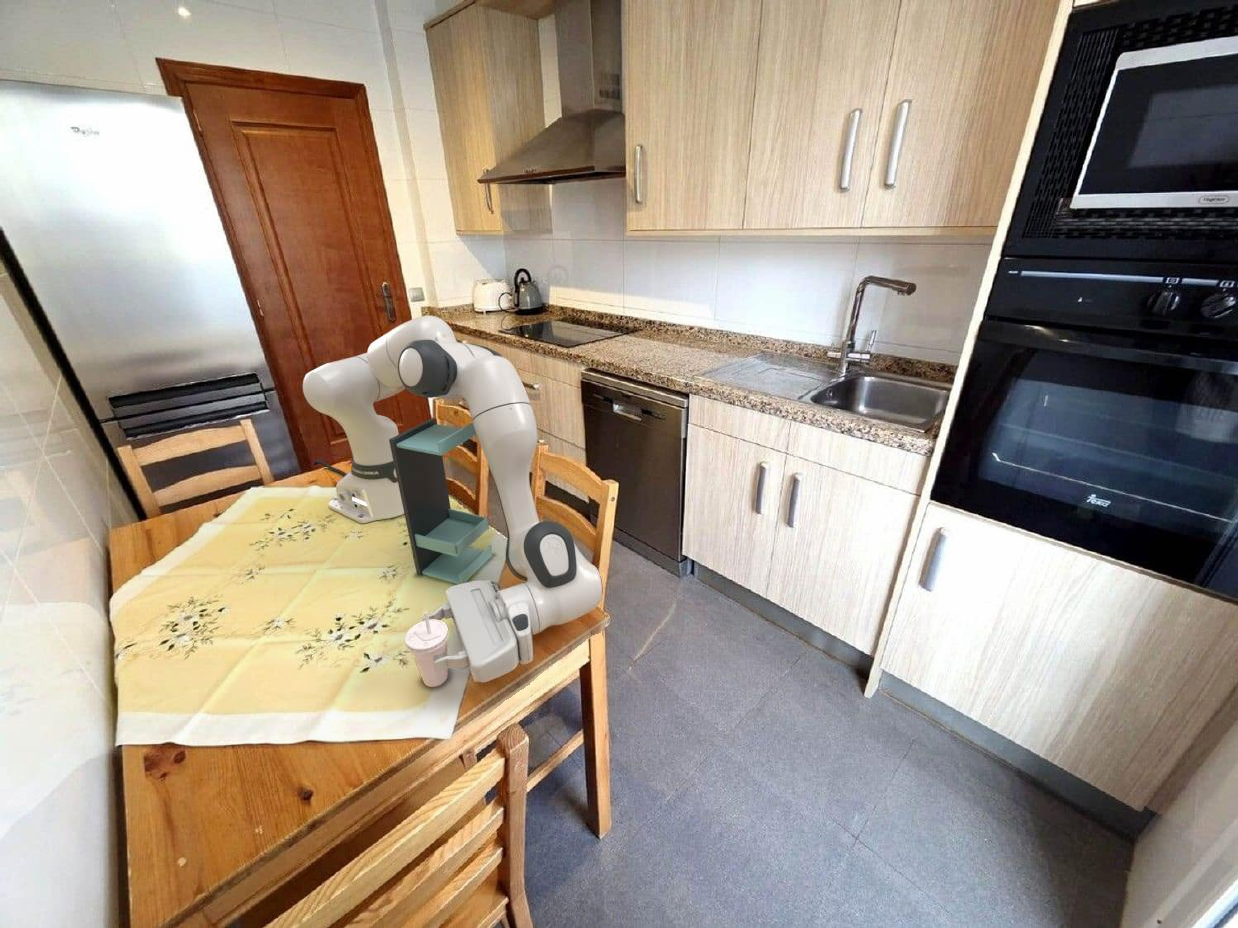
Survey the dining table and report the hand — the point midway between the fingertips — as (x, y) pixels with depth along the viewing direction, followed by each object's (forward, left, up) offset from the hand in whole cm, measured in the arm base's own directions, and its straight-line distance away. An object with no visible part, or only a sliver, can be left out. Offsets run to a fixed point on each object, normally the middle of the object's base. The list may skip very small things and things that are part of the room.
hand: (428, 642), depth 79 cm
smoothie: (0, 0, -8) cm, 8 cm away
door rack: (-16, +26, -8) cm, 31 cm away
